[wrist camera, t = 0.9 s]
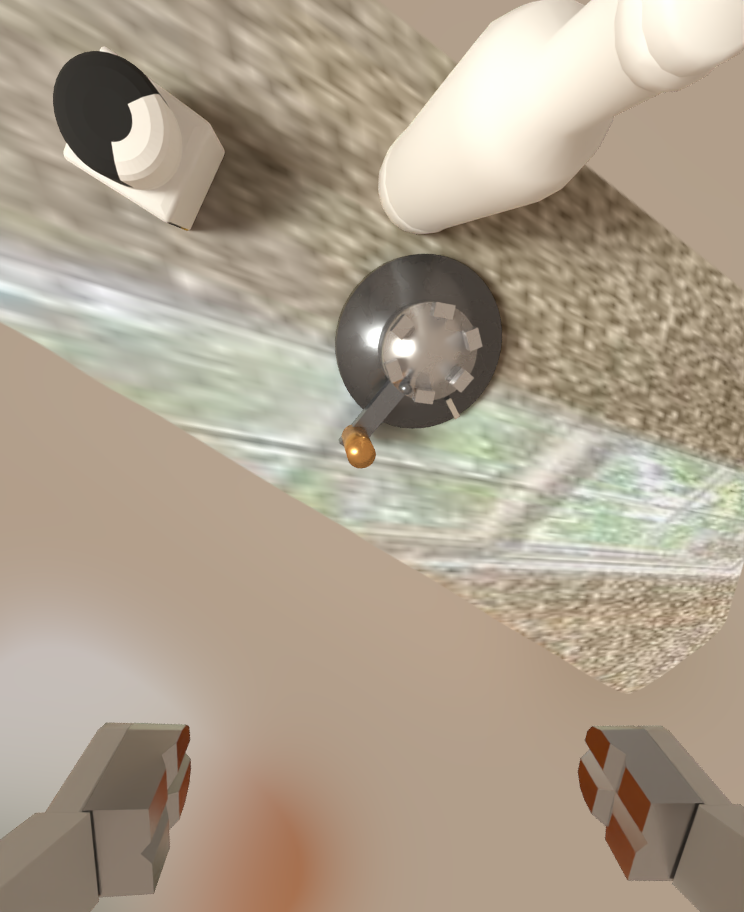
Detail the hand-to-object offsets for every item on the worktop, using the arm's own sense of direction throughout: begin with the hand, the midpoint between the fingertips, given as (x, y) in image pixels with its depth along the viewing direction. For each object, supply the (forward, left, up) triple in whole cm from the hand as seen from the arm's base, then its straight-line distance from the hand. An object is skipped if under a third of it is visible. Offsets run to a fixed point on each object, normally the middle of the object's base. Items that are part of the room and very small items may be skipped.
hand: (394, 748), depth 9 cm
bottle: (-17, +9, -38) cm, 43 cm away
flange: (-3, +11, -38) cm, 39 cm away
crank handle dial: (0, +8, -36) cm, 37 cm away
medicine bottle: (-16, -12, -38) cm, 43 cm away
